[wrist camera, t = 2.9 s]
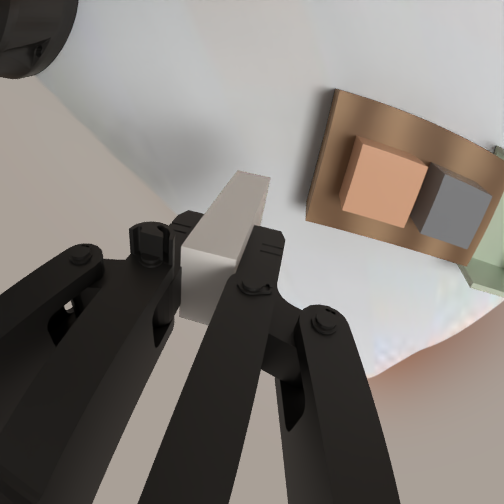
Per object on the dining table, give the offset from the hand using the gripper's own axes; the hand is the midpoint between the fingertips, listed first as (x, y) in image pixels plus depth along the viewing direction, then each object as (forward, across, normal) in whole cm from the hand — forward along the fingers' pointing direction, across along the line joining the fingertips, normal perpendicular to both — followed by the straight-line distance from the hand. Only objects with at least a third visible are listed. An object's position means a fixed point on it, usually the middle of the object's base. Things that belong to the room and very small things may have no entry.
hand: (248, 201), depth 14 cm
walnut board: (+14, +12, 0) cm, 19 cm away
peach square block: (+10, +8, 0) cm, 13 cm away
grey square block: (+10, +15, 0) cm, 18 cm away
